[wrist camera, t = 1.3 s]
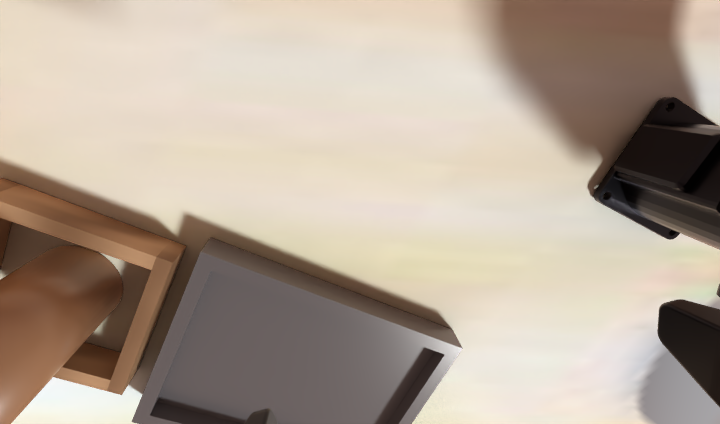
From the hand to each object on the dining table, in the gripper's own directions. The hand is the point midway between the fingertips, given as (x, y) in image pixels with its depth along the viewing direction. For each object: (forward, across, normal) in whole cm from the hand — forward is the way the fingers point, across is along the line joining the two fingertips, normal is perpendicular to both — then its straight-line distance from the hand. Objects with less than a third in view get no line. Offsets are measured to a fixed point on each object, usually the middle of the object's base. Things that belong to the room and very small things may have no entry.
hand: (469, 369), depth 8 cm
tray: (+13, +7, +10) cm, 18 cm away
